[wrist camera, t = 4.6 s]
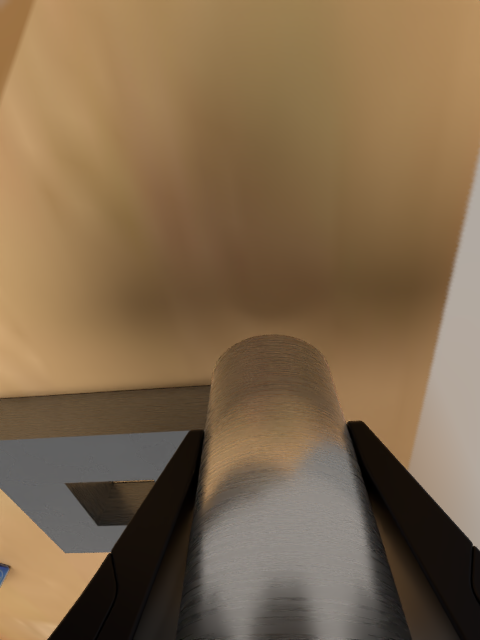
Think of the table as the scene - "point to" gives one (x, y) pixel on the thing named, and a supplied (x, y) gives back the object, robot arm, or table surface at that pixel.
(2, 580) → the medicine box
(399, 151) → the table surface
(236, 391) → the silver flanged peg
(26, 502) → the socket block
